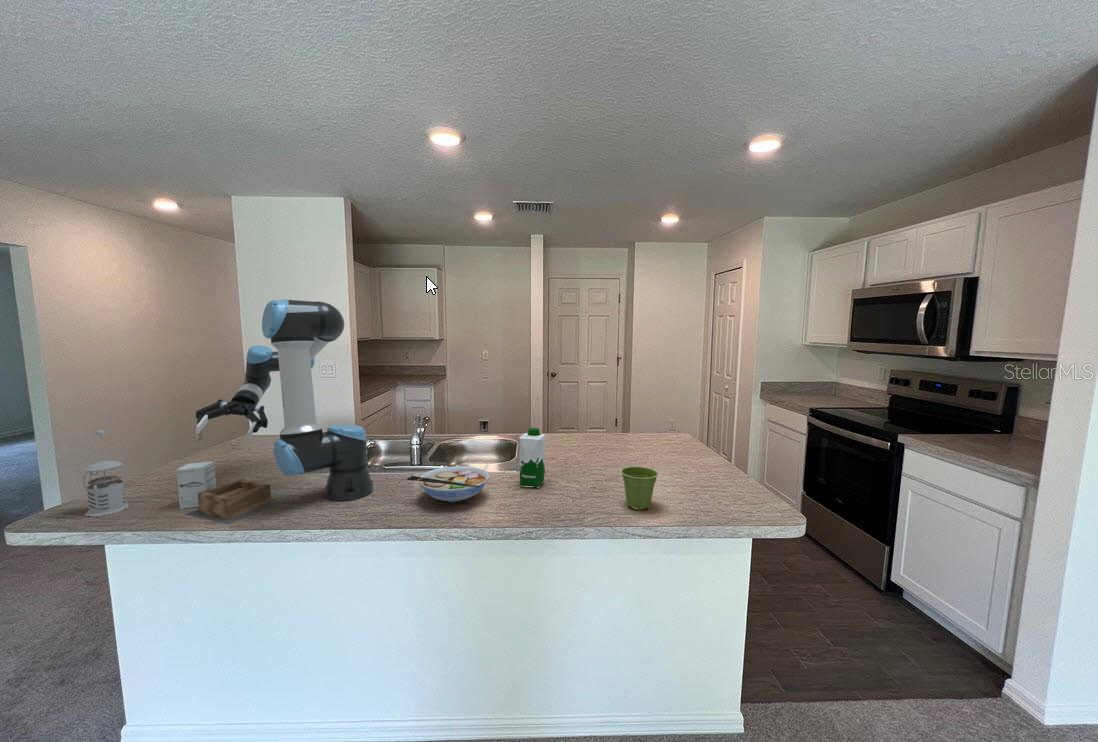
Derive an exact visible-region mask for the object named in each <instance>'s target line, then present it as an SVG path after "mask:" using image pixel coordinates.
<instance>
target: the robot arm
mask: <svg viewBox="0 0 1098 742" xmlns="http://www.w3.org/2000/svg"><path fill="white" fill-rule="evenodd" d="M261 319H262V320H261V330H262V334H263V336H264V338H266V339H270V345H271V346H272V347H274V348H275V349H276V351H273V350H272V348H271V347H269V346H267V345H261V344H256V345H252V346H250V347H249V348H248V350H247V353H246V358H245V359H246V361H245V362H246V363H245V372H244V373H245V374H244V381H243V383H242V385H241V386H240V388H239V389H238V390H237V391H236V393H235V394H234V396H233V397H232V398H231V399H230V401H228V402H225V401H224V400H223V399H218V400H217V401H216V402H214V403H212V404H209V405H207V406H205V407H202V408H200V409H198V410H196V411H195V419H197V420H196V421H197V422H196V426H195V434H200V432H202V430H203V429H204V427H205V426H206V425H207V424H208V421H209V420H212V419H214V418H215V419H216V418H218V417H222V416H229V415H235V416H237V415H238V416H241V417H242V416H244V417H245V418H246V419H248V420H249V421H250V423H252V425H251V426H250V428H249V429H248V431H247V432H246V438H245V439H246V440H247V441H250V439H251V437H252V435H254V433H258V431H259V430H260V428H264V429H267V428H268V424H269V420H268V418H267V415H266V413H265V406H264V405H260V406H258V404H259V402H260V401H261V399H262V398H263V396H264V394H265V393H266V391H267V389H269V387H270V386H271V383H272V376H271V375H270V373H272V372H279V378H280V387H281V399H282V400H281V401H282V411H283V420H284V421H283V422H284V427H283V429H282V430H281V431H280V432H279V438H278V439H276V440H274V442H273V456H274V459H275V462H276V464H277V466H278V468H279V470H280V471H281V473H282V474H284V475H286V476H288V477H292V476H297V475H304V474H307V473H311V472H315V471H320V470H325V469H328V470H329V474H328V477H327V481H326V485H325V486H324V491H323V492H324V493H323V494H324V498H325V499H328V500H329V501H335V502H336V501H337V502H339V501H340V502H341V501H343V502H344V501H353V500H356V499H360V498H364V497H366V496H369V495H371V493H372V492H373V491H374V483H373V480H372V478H371V474H370V472H369V469H368V456H367V455H368V453H367V451H368V449H367V440H368V439H367V434H366V430H365V428H364V427H363V426H360V425H353V424H332V425H329V426H328V427H327V429H326V431H323V427H322V426H321V425H319V423H317V418H316V416H317V415H316V406H315V396H314V395H315V394H314V384H313V375H312V369H313V367H314V365H315V357H316V356H317V355H318V354H319V353H320V352H321V351H322V350H323V349H324V347H326V345H328V344H329V343H331V342H334V341H337V339H338V338H339V337H340V336H341V335H342V334H343V332H344V329H345V320H344V317H343V315H342V313H341V312H340V311H339V310H338V309H337V308H336V307H335V306H334V305H332V304H330V303H327V302H324V301H310V300H297V299H273V300H270V301H269V302H268V303H267V304H266V305H265V307H264V309H263V314H262V318H261ZM254 412H256V413H257V415H258V416H257V415H256V413H254Z"/></svg>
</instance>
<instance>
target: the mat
mask: <svg viewBox="0 0 1098 742" xmlns="http://www.w3.org/2000/svg"><path fill="white" fill-rule="evenodd" d="M283 503H284V501H281V500H276V499H272V498H271V503H270V504H267V505H264V506H262V507H259V508H257V509H254V510H252V511H249V512H247V513H244V514H242V515H239V516H236V517H234V518H231V519H229V520H228V519H224V518H220V517H215V516H211V515H207V514H203V513H199V508H198V509H195V510H192V511H188V512H186V513H185V515H189V516H192V517H196V518H197V517H198V518H201V519H205V520H209V521H213V522H218V523H222V524H226V525H231V524H233V523H235V522H237V521H240V520H242V519H243V520H244V519H245V518H248V517H250V516H253V515H255V514H258V513H260V512H262V511H265V510H268V509H270V508H273V507H275V506H277V505H280V504H283Z"/></svg>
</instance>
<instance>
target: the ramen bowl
mask: <svg viewBox="0 0 1098 742" xmlns="http://www.w3.org/2000/svg"><path fill="white" fill-rule="evenodd" d="M489 478H490V474H489V473H488V471H487V470H485V469H483V468H481V467H480V468H479V467H475V466H470V465H469V466H467V465H465V466H464V465H455V466H444V467H440V468H435V469H431V470H429V471H426V472H424V473H423V474H421V476H416V475H410V477H409V476H408V477H407V478H406V479H407V481H414V482H415V481H416V482H418V483H419V485H420V486H421V488H422V489H423V490H424V492H425V493H426V494H427V495H429V497H431V498H434V499H435V500H439V501H443V502H446V501H448V502H447V503H457V502H456V501H459V502H462V501H461V500H463V501H464V500H467V499H470V498H472V497H474V496H476V495H477V494H479V493H480V492H481V490H482V489H483V487H484V486H485V485H486V483H487V481H488V480H489Z"/></svg>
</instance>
